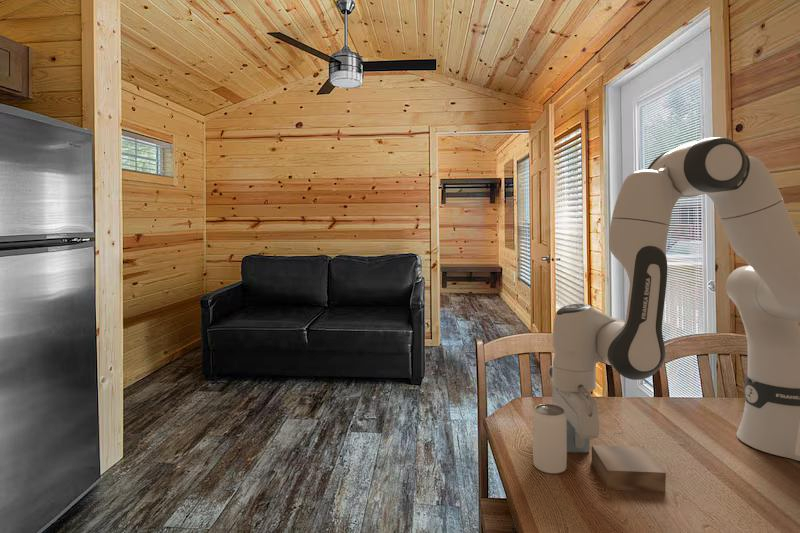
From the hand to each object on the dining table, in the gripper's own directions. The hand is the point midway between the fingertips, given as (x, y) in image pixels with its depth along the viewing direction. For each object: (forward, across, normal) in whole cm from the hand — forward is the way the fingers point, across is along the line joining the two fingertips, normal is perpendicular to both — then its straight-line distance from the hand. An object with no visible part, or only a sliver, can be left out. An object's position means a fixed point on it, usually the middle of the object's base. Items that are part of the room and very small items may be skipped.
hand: (573, 439), depth 99 cm
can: (+2, -8, +8) cm, 11 cm away
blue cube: (+2, 0, 0) cm, 2 cm away
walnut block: (+2, -12, -6) cm, 14 cm away
